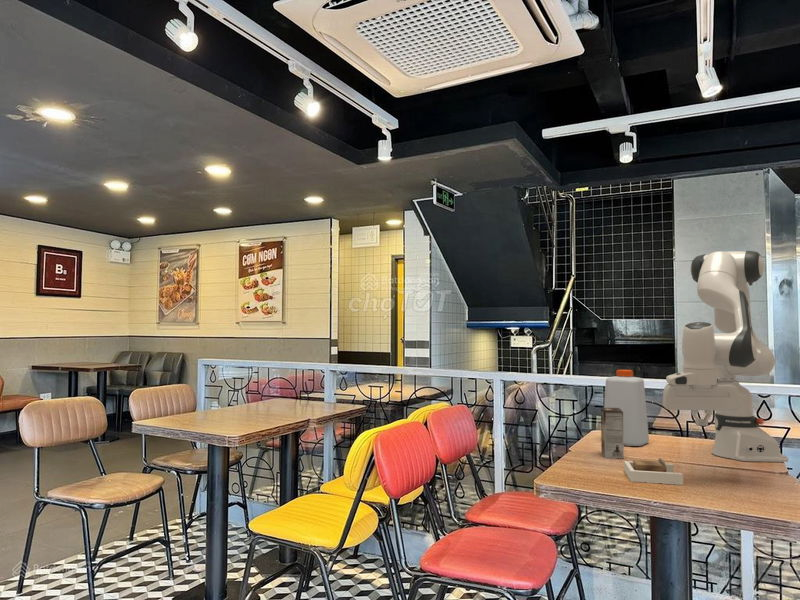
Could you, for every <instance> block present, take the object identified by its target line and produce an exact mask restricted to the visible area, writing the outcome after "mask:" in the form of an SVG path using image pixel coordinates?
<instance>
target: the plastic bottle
mask: <svg viewBox="0 0 800 600" xmlns="http://www.w3.org/2000/svg"><path fill="white" fill-rule="evenodd" d="M615 373H616V376H610V377H607V378H606V379H605V386H604V387H605V388H604V400H603V401H604V404H603V408H620V409H621V410H622V411H623V445H626V446H625V447H630V446H639V447H642V446H644V445H646V444H648V443H649V440H650V436H649V425H648V424H649V423H648V414H647V413H648V412H647V401H646V400H647V399H646V392H645V391H646V390H645V389H646V388H645V381H644V379H643V378H641V377H638V376H637V377H636V376H634V370H632V369H617V370H616V372H615Z"/></svg>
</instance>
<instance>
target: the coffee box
mask: <svg viewBox="0 0 800 600" xmlns="http://www.w3.org/2000/svg"><path fill="white" fill-rule="evenodd" d="M600 433H601V434H600V437H601V441H600V442H601V443H600V444H601V445H600V447H601V451H600V452H601V454H602V456H603V457H604V458H605V459H613V458H619V460H624V456H625V455H624V446H623V411H622V410H621V409H620V408H604V407H600ZM620 458H621V459H620Z"/></svg>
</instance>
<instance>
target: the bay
mask: <svg viewBox="0 0 800 600" xmlns="http://www.w3.org/2000/svg"><path fill="white" fill-rule="evenodd" d="M665 465H666V472H654V471H637V470H634V469H633V461H631V460H629V461H626V460H624V461H623V471H624V473H625V475H626V474H627V475H626V476H627V478H628V480H629V481H630V482H633V483H644V482H646V484H659V483H662V484H661V485H663V484H664V485H674V484H675V485H676V486H684V474H683V473H682V472H674V463H665Z"/></svg>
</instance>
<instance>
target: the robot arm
mask: <svg viewBox="0 0 800 600" xmlns="http://www.w3.org/2000/svg"><path fill="white" fill-rule="evenodd" d="M689 269H690V274H691V277H692V280H693V281H694V282H696V283H697V286H696V293H697V296H698V297H699V299H700V300H701V301H702V302H703V303H705V304H706V305H707V306H708V307H711V308H713V309H714V325H715V327H716V328H717V329H718V331H721V332H715V331H714V327H713V324H712V323H710V322H705V321H696V322H690V323H687V324H685V325H684V326H683V332H682V341H681V342H682V345H681V351H682V356H683V364H682V371H680V372H679V371H678V372H675V373H673V374H669V375H667V376H666V378H665V379H666V382H667V384H666V385H665V386H664V388H663V392H662V406H663V407H664V408H665V409H666V410H667V411H668V410H669V411H671V410H672V411H690V413H691V415H692V417H693V419H694V420H695V421H694V422H695V425H696V426H697V427H708V426H709V420H710V418H711V417H712V414H713V411H715V412H716V413H714V427H715V428H714V429H715V435H714V438H715V439H714V444H713V448H712V450H711V454H713V455H715V456H717V457H721V458H727V459H732V460H737V461H740V462H741V461H742V462H761V463H762V462H764V463H766V462H769V463H770V462H771V463H788V462H789V457H788V456H786V455H785V454H784V453H783V454H782V453H781V449H780V448H781V447H780V445H779V442H778V441H777V440H776V439H775V437H773V436H771V435H770V434H769V433H767V431H765V430H763V429H762V428H761V427H760V425H764V423H765V420H764V419H763V418H759V417H756V416H755V415H754V414H753V411H754V410H753V409H754V408H753V407H754V406H753V395H752V393H751V391H750V390H749V389H748V388H746V387H745V386H743V385H742V384H740V382H739V381H738V380H737V378H736V377H737V376H745V377H757V376H765V375H769V374H770V373H771V372H772V371H773V369H774V367H775V363H776V359H775V355H774V354H773V351H772V350H771V349H770V348H769V347H767V346H766V345H765V344H764V343H763V342H761V341H760V340H759V338H758V337H757V335H756V334H755V330H754V329H753V324H752V317H751V315H752V314H751V295H750V290H749V289H750V288H749V287H750V286H753V283H755V282H758V281H759V280H760V279H761V278H762V276H763V274H764V269H765V261H764V259H763V257H762V255H761V254H760V253H759V252H758V251H754V250H746V251H741V250H738V251H736V250H735V251H734V250H733V251H732V250H731V251H720V250H718V251H713V252H711V253H709V254H701V255H698V256H695V257H694V258H693V259H692V260H691V264H690V268H689ZM699 411H704V413H705V415H704V417H703V418H699V417H698V416H697V415H698V414H699Z"/></svg>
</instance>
